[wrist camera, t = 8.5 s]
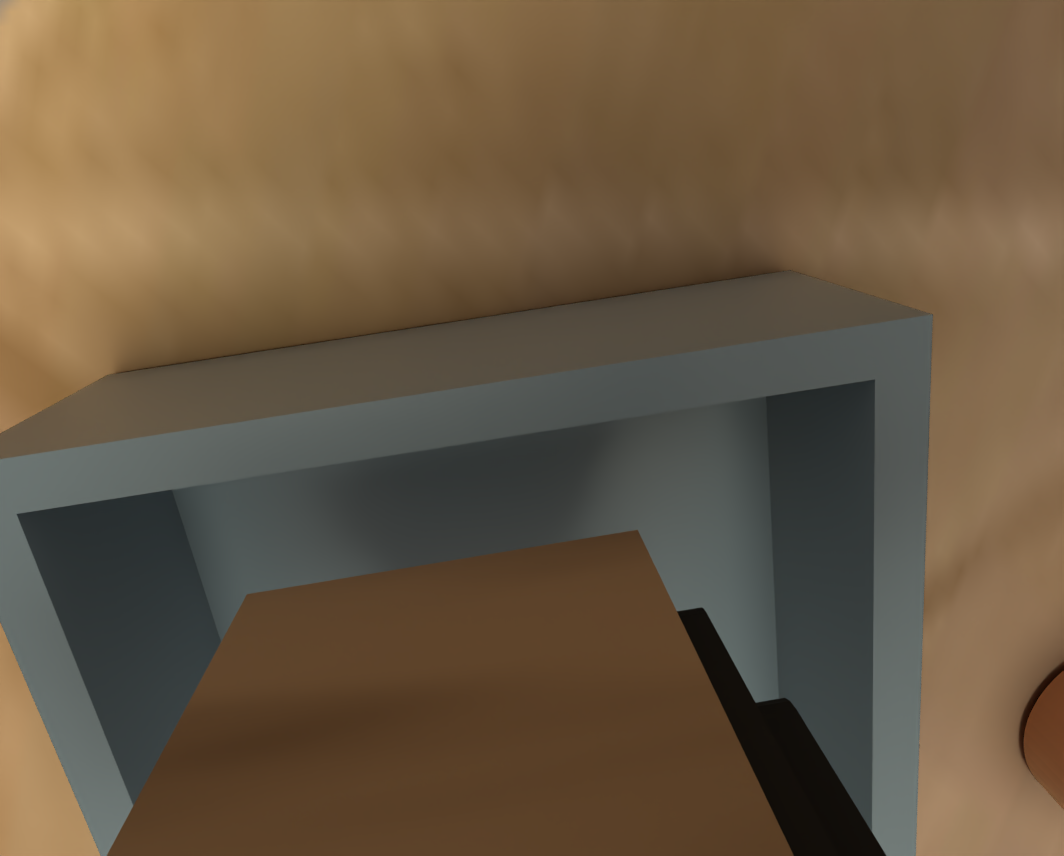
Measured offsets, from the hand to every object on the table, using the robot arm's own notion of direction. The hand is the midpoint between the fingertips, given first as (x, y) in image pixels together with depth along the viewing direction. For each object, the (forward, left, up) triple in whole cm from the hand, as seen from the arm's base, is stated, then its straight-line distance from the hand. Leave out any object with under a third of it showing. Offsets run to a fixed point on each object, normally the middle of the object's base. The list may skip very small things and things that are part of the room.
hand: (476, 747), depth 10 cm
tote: (0, +4, -7) cm, 8 cm away
